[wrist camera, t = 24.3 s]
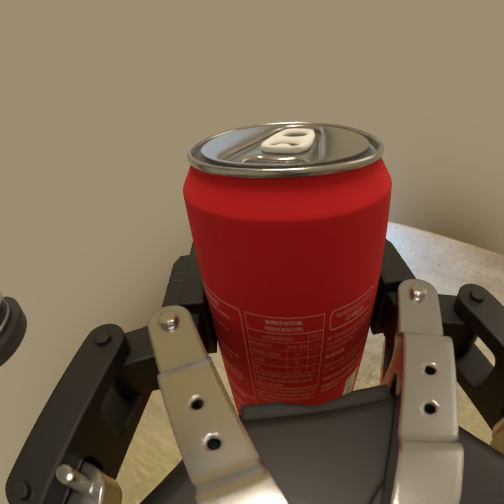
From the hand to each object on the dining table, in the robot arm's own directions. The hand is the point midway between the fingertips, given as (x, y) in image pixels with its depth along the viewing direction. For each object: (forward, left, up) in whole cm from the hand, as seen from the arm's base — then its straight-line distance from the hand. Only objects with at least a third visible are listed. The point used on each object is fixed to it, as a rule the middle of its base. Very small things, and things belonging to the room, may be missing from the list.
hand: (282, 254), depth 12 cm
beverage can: (0, -3, -7) cm, 8 cm away
